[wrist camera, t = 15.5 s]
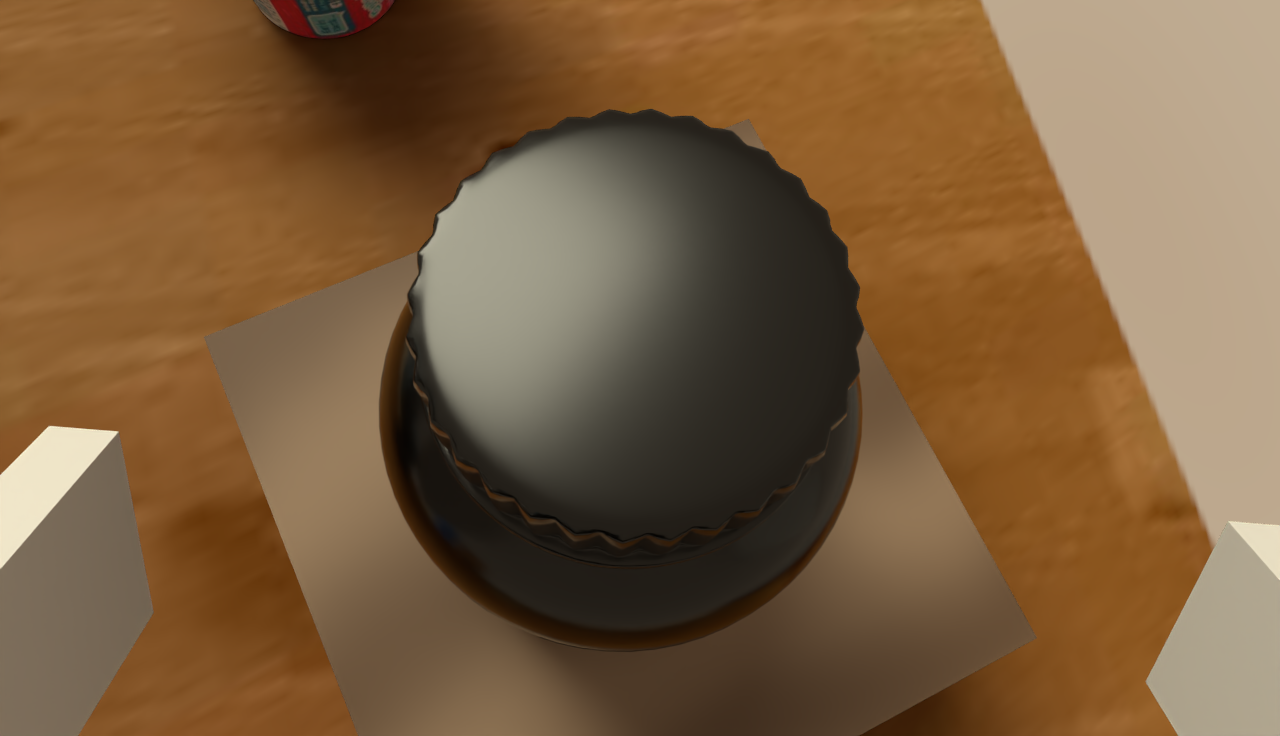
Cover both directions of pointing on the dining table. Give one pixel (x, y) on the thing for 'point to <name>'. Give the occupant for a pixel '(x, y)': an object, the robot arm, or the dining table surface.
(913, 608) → the walnut riser block
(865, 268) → the dining table surface
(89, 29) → the dining table surface
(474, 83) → the dining table surface
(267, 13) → the cup
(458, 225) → the supplement bottle
